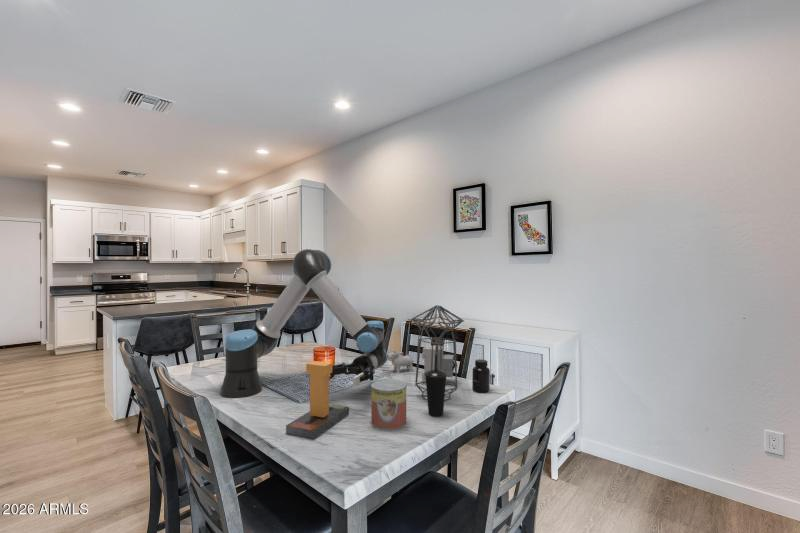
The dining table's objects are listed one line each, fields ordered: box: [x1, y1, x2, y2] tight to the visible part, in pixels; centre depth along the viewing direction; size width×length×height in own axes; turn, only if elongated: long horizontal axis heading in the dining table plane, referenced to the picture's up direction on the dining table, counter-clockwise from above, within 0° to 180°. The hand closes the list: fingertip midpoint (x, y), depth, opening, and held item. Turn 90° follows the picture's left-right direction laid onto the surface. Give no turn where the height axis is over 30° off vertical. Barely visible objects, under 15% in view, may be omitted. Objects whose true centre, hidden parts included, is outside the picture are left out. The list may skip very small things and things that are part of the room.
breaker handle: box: [305, 360, 333, 418], centre depth 121 cm, size 4×7×16 cm, turn 68°
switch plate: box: [285, 403, 350, 440], centre depth 121 cm, size 20×10×3 cm, turn 158°
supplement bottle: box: [471, 359, 491, 394], centre depth 153 cm, size 7×7×12 cm
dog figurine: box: [387, 349, 414, 374], centre depth 181 cm, size 5×13×11 cm, turn 114°
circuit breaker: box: [421, 344, 458, 386], centre depth 163 cm, size 8×14×15 cm, turn 78°
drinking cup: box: [425, 354, 448, 418], centre depth 129 cm, size 8×8×20 cm
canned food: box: [370, 379, 408, 431], centre depth 122 cm, size 11×11×12 cm
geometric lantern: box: [410, 304, 465, 402], centre depth 145 cm, size 16×16×35 cm
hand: (336, 379), depth 130 cm, fingers open, 13 cm apart
